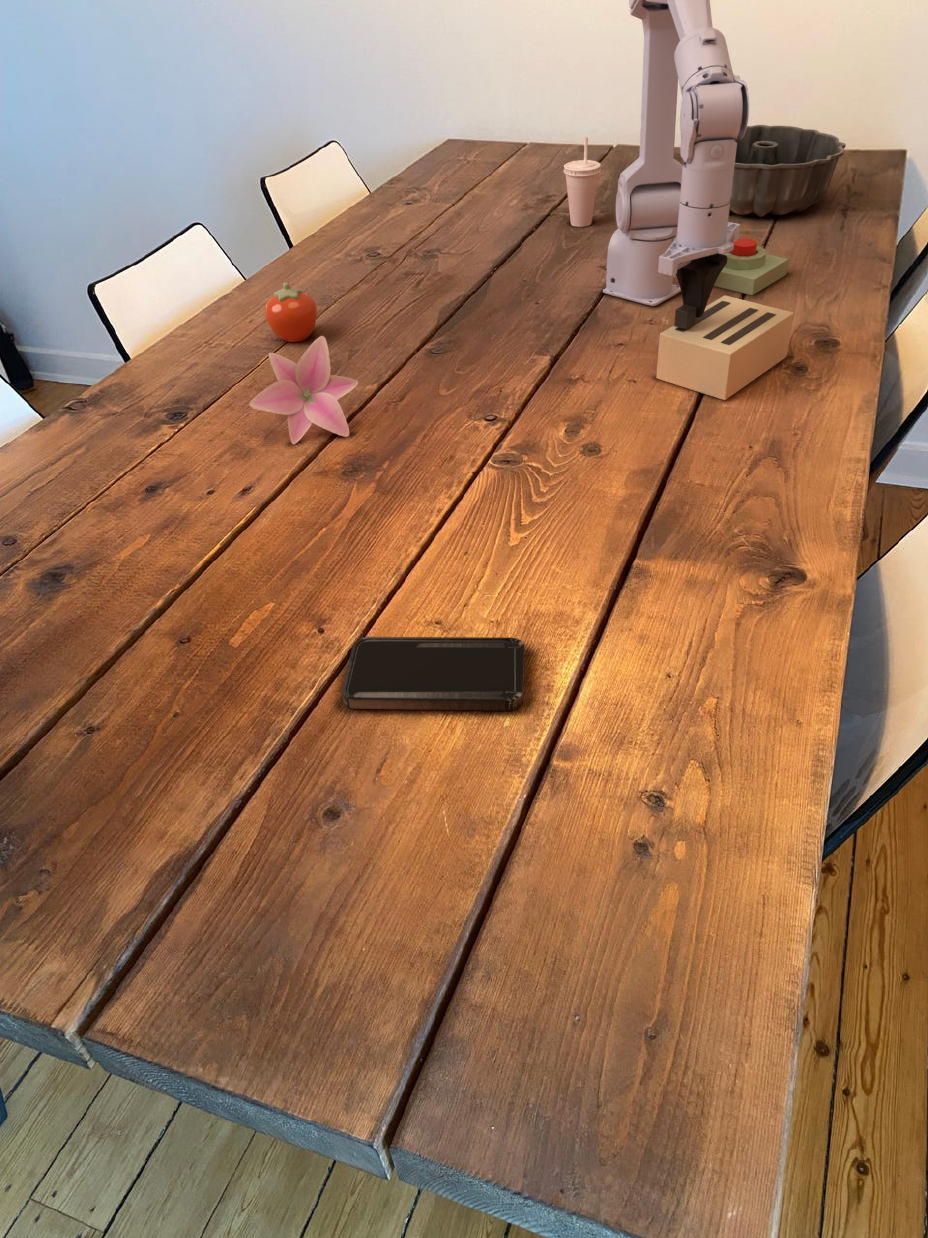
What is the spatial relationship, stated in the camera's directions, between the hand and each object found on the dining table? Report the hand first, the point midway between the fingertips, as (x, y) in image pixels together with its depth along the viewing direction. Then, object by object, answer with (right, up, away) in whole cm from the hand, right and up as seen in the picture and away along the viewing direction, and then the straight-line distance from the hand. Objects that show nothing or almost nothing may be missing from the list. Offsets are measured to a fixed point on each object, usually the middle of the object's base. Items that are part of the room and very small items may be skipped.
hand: (693, 314), depth 118 cm
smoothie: (-8, +32, +50) cm, 60 cm away
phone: (-31, -43, -37) cm, 65 cm away
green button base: (+14, +14, +26) cm, 33 cm away
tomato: (-53, +3, +19) cm, 57 cm away
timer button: (+13, +17, +24) cm, 32 cm away
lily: (-47, -15, -2) cm, 50 cm away
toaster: (+5, -6, +4) cm, 8 cm away
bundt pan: (+25, +37, +53) cm, 69 cm away
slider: (-1, -1, -1) cm, 2 cm away
